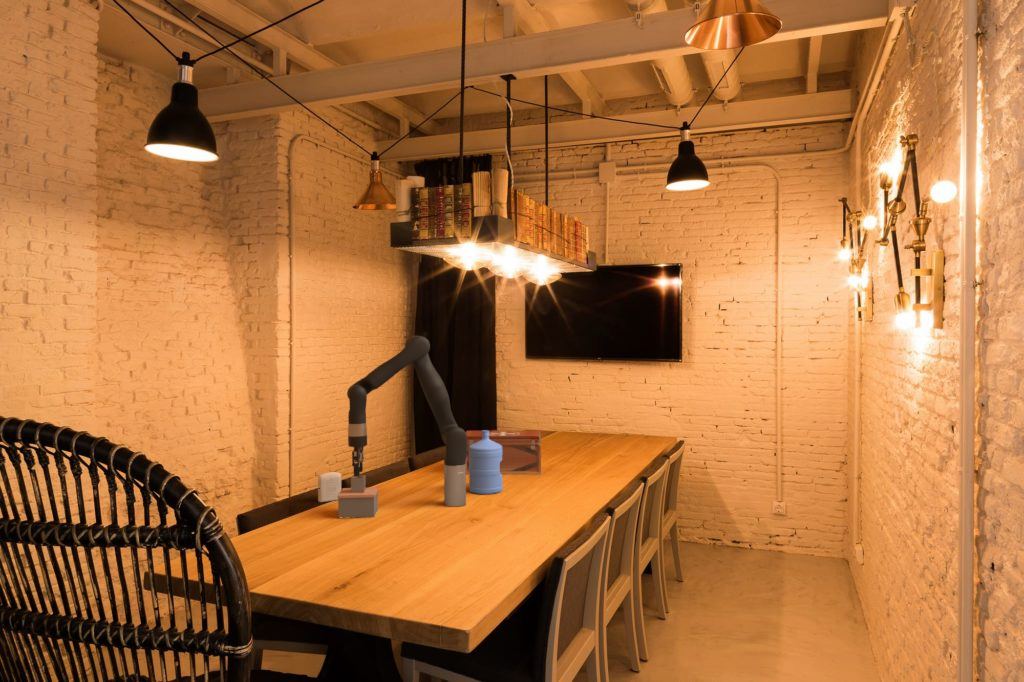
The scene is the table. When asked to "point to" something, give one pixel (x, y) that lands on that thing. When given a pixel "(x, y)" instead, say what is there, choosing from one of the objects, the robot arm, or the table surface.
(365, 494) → the lid
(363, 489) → the weight
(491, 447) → the water jug
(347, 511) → the box
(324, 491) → the photo printer
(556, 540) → the table surface
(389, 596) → the table surface
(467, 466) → the wooden box
